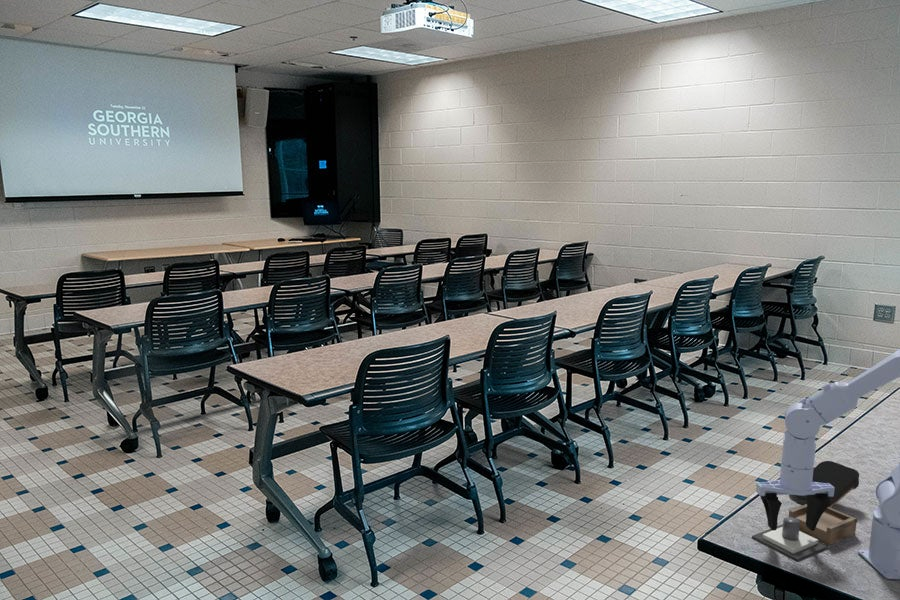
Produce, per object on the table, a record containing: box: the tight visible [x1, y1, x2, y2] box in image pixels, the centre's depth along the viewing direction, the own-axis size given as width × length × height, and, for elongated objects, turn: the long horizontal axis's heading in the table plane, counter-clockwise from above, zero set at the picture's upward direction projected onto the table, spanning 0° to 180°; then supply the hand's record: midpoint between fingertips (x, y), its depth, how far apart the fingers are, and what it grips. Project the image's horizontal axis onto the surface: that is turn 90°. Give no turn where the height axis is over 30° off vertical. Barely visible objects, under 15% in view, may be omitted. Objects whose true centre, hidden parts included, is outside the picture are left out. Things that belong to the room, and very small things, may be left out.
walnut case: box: [788, 504, 858, 546], centre depth 143 cm, size 9×9×4 cm
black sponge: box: [788, 460, 860, 508], centre depth 153 cm, size 16×8×4 cm, turn 123°
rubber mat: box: [751, 523, 830, 562], centre depth 138 cm, size 10×10×1 cm
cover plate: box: [762, 516, 819, 554], centre depth 137 cm, size 8×7×4 cm
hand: (791, 528), depth 137 cm, fingers open, 7 cm apart
